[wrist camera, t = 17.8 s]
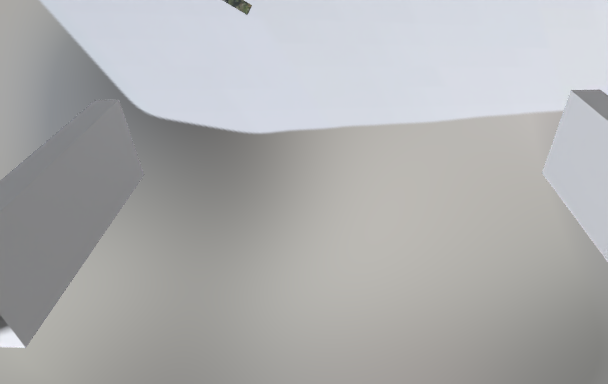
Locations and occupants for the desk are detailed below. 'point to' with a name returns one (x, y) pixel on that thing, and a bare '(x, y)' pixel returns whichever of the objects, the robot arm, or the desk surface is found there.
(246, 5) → the eiffel tower figurine
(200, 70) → the desk surface
